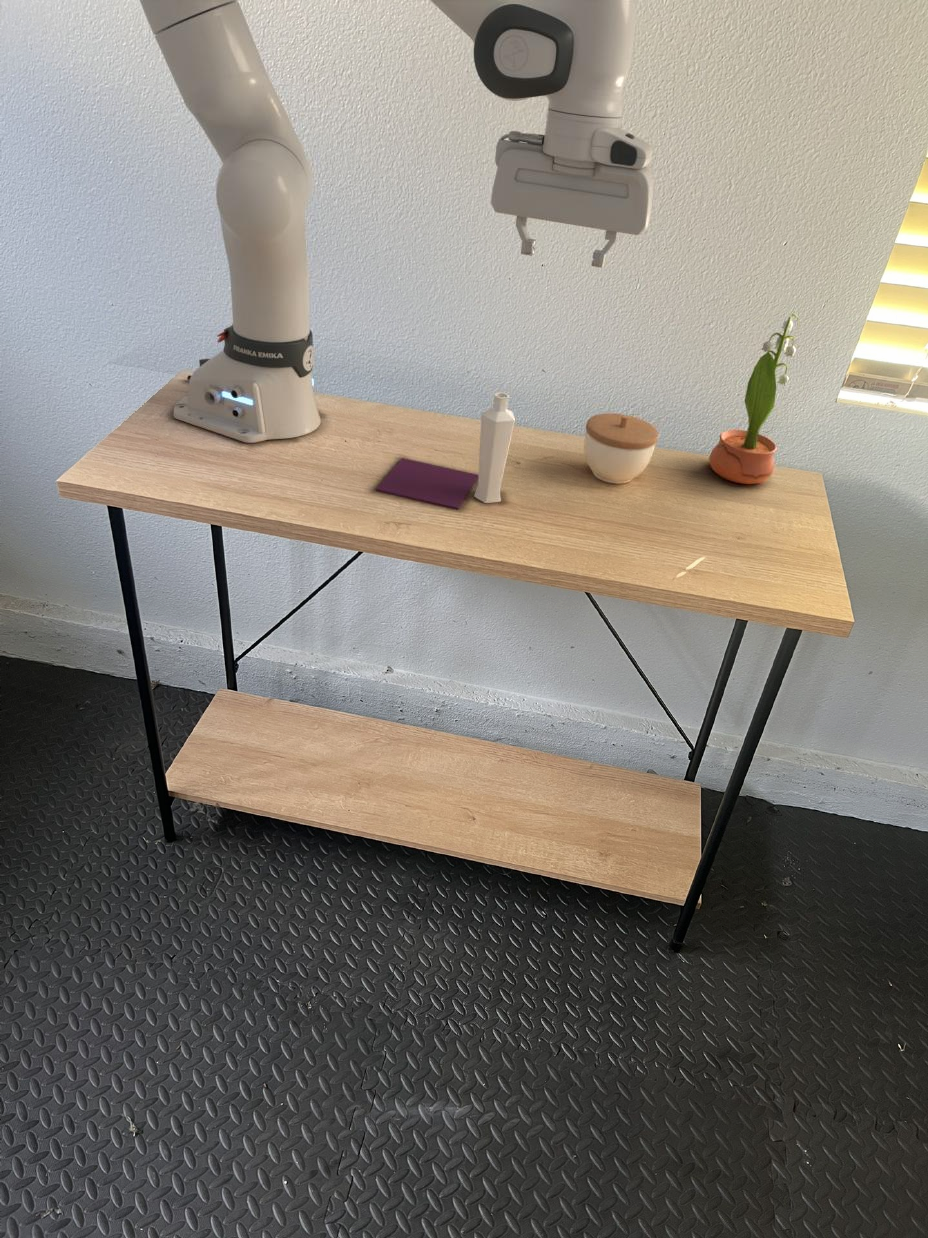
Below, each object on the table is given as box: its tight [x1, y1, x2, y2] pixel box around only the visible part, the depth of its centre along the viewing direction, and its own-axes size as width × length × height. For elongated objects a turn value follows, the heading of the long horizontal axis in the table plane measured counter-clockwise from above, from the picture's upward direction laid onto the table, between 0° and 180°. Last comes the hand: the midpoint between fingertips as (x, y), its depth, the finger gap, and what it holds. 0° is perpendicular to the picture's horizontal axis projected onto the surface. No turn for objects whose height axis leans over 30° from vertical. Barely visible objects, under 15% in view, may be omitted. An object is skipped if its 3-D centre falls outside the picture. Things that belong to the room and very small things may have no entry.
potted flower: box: [708, 312, 800, 485], centre depth 129 cm, size 12×10×25 cm
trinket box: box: [583, 413, 659, 485], centre depth 128 cm, size 11×11×9 cm
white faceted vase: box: [473, 391, 516, 504], centre depth 116 cm, size 5×4×15 cm
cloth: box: [375, 457, 479, 510], centre depth 122 cm, size 12×11×1 cm
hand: (562, 260), depth 111 cm, fingers open, 8 cm apart
